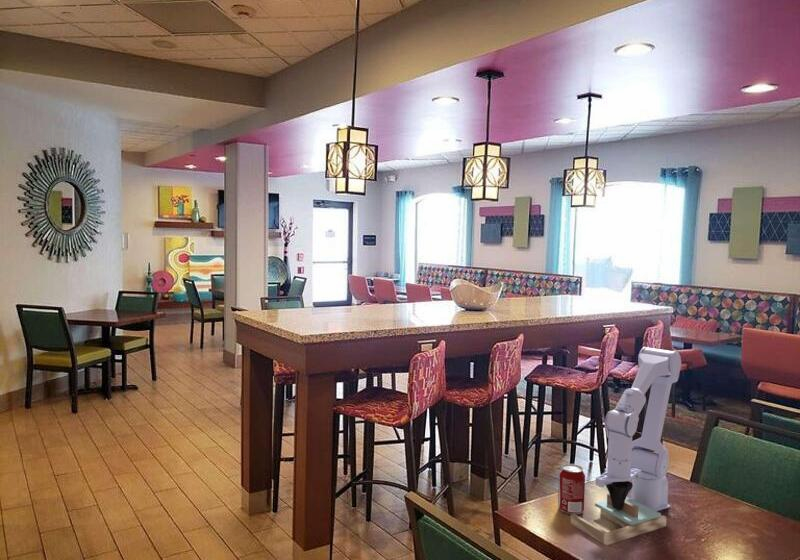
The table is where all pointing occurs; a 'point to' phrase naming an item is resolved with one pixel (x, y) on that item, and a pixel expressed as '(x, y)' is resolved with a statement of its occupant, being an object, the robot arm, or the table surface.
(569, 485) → the soda can
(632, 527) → the wooden frame
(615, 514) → the lid
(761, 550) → the table surface
